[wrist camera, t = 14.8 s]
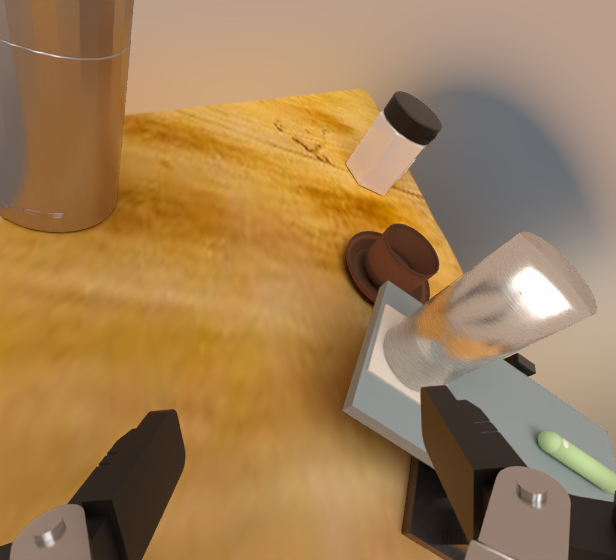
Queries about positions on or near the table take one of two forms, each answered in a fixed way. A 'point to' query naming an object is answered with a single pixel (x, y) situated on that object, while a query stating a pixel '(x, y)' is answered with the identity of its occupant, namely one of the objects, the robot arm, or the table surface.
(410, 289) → the cup and saucer
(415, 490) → the pivot stand
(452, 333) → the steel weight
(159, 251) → the table surface
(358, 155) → the jar
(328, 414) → the table surface
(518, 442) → the platform
